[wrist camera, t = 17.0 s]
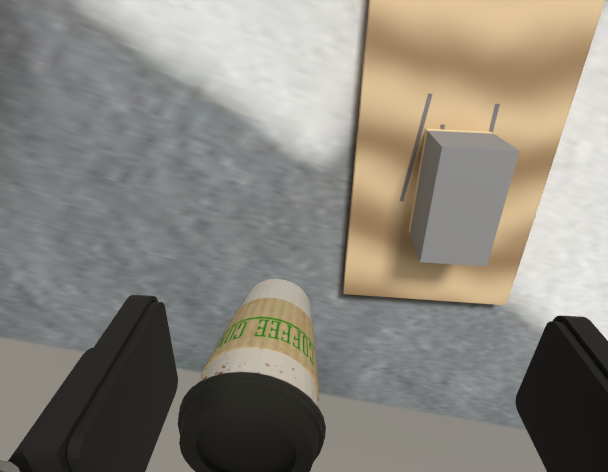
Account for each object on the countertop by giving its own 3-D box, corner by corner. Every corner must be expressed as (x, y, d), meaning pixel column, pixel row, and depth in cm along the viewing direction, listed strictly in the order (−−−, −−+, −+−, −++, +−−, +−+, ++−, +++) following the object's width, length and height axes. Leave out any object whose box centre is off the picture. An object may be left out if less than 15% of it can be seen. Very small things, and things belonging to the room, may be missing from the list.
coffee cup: (299, 246, 35) (276, 377, 22) (346, 326, 39) (350, 481, 25) (207, 284, 38) (136, 423, 24) (259, 356, 41) (222, 511, 28)
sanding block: (425, 128, 28) (442, 146, 24) (490, 131, 28) (519, 150, 24) (408, 229, 32) (419, 262, 27) (466, 233, 32) (486, 266, 27)
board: (375, -68, 25) (377, -74, 23) (611, -63, 24) (627, -68, 22) (343, 284, 37) (343, 294, 35) (499, 294, 36) (506, 305, 34)
